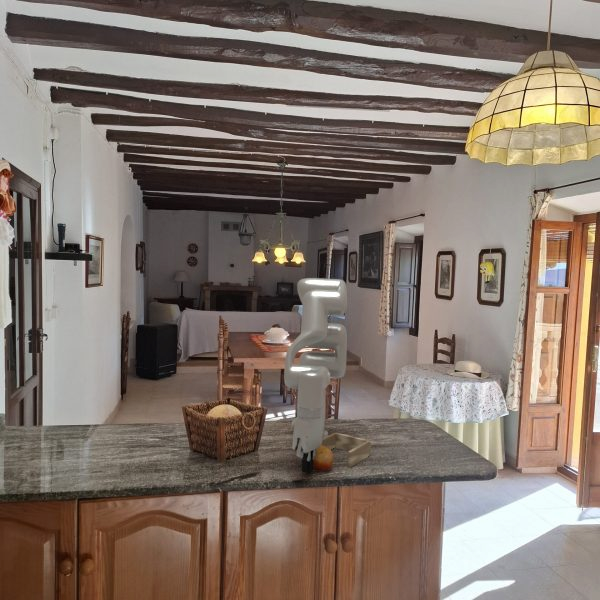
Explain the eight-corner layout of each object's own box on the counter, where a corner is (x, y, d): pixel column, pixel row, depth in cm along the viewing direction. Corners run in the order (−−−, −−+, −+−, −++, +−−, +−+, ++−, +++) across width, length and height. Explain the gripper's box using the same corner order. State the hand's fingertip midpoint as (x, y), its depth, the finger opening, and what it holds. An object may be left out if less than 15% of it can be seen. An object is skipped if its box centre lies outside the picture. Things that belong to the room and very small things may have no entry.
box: (313, 457, 169) (313, 442, 169) (334, 446, 181) (335, 432, 180) (350, 467, 161) (351, 452, 161) (370, 455, 173) (370, 440, 173)
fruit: (328, 457, 166) (332, 440, 161) (332, 478, 159) (336, 461, 155) (303, 457, 164) (307, 441, 160) (307, 478, 158) (310, 462, 154)
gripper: (312, 404, 161) (310, 462, 162) (284, 415, 148) (282, 476, 149) (333, 409, 157) (330, 467, 158) (306, 420, 144) (303, 483, 145)
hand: (307, 472), depth 154 cm, fingers closed
